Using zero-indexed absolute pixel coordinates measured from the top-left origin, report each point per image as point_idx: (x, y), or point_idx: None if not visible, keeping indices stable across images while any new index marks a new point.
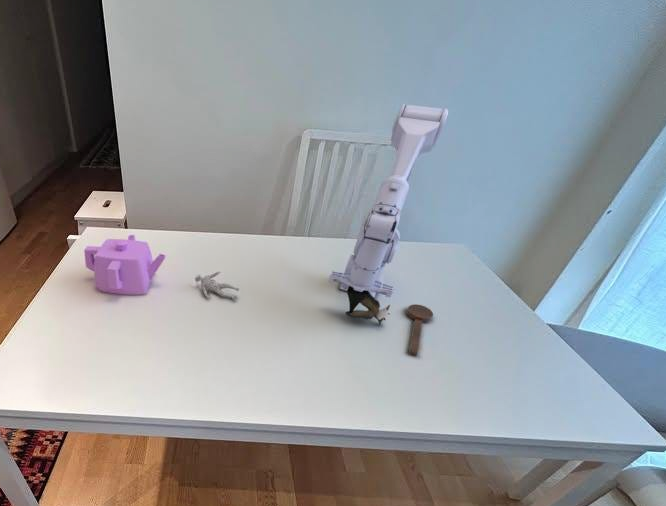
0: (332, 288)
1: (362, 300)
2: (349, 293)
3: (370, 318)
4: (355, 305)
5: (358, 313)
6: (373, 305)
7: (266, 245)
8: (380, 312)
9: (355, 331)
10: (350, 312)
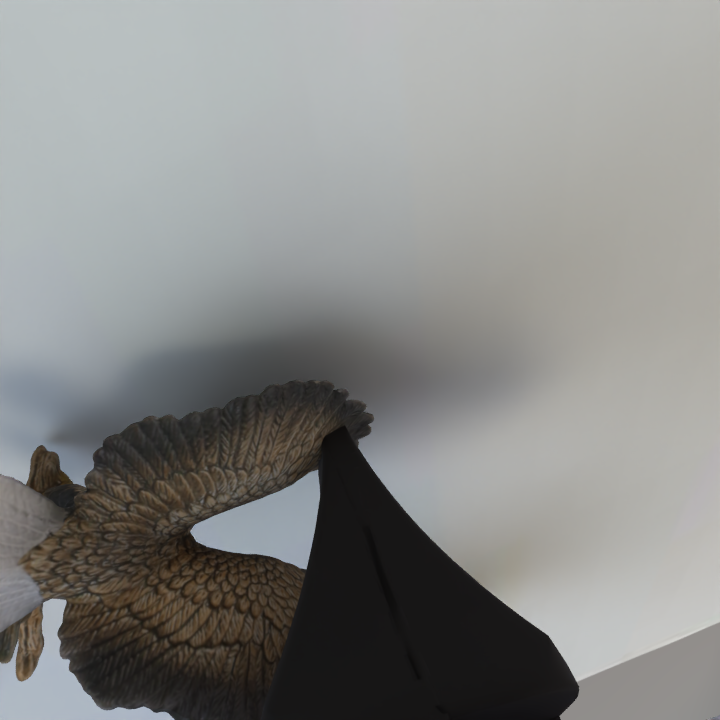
0: (460, 563)
1: (282, 604)
2: (542, 667)
3: (108, 449)
4: (334, 518)
5: (262, 450)
6: (141, 614)
7: (711, 604)
8: (5, 574)
9: (209, 246)
10: (337, 435)
